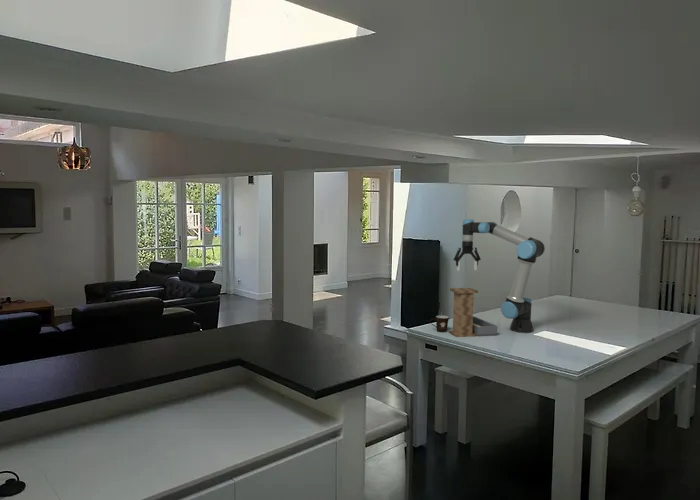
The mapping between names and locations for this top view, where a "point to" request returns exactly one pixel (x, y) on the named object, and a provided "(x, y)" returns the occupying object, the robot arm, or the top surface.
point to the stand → (463, 312)
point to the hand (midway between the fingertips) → (466, 270)
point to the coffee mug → (441, 323)
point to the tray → (483, 327)
